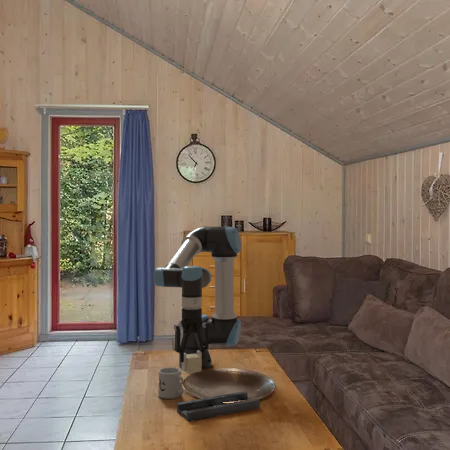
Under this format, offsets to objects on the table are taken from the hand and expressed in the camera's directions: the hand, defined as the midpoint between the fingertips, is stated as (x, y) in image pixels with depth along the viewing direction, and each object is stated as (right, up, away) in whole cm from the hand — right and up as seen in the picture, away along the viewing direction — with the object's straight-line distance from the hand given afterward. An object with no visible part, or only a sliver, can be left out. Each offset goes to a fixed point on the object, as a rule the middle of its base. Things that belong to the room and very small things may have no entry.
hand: (191, 369), depth 211 cm
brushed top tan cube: (0, 0, 0) cm, 0 cm away
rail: (+10, -14, -5) cm, 18 cm away
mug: (-8, -13, +9) cm, 18 cm away
